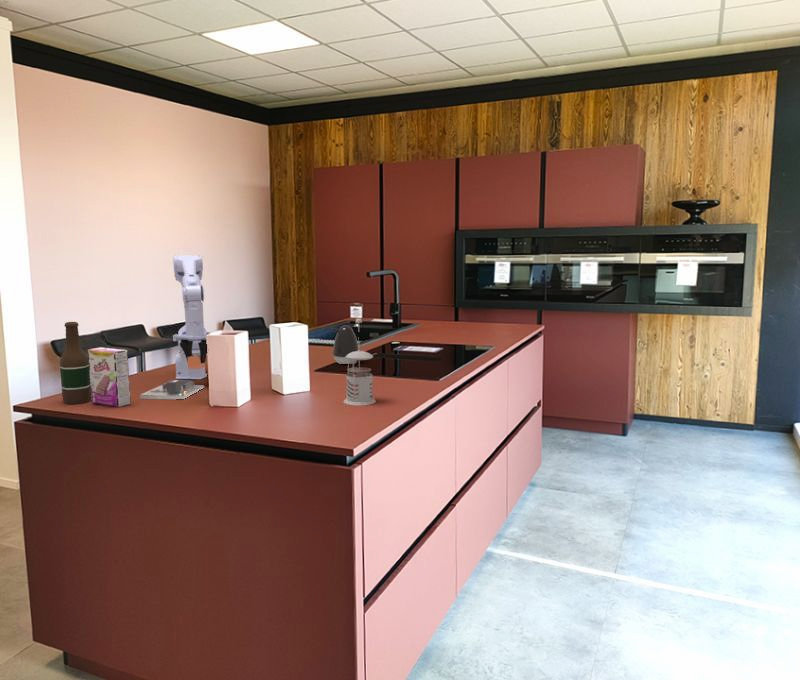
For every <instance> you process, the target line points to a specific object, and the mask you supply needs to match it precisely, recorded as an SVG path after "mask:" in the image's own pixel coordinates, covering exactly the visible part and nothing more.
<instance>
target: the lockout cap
mask: <svg viewBox="0 0 800 680" xmlns="http://www.w3.org/2000/svg"><path fill="white" fill-rule="evenodd" d="M205 363H206V362H205ZM205 363H201V360H200V355H199V354H194V355H191V356H189V357H188V369H201V368H203V367H205V368H206V364H205Z"/></svg>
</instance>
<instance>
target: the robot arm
mask: <svg viewBox="0 0 800 680" xmlns="http://www.w3.org/2000/svg"><path fill="white" fill-rule="evenodd" d="M172 258H173V272H174V278H175V281H177V282H178V283H180V285H181V287H182V289H181V290H182V291H181V292H182V302H183V307H184V308H183V309H184V321H185V324H184V325H183V326H182V327H181V328H180V329H179V330H178V332H177V333H178V334H177V333H175V334H172V341H173V342H177V344H178V351H179V352H178V353H177V354H176V355H175V375H176V377H175V379H174V380H203V379H204V378H207V377H208V376H207V374H208V373H206V366H205V367H203V368H201V369H188V357H189V356H191V355H194V354H199V355H200V360H201V363H206V360H207V354H208V352H207V344H206V336H207V335H208V334H207V333H208V331H207V329H206V327H205V325H204V323H205V321H204V301H205V289H204V286H203V284H201V280H202V279H203V278H202V277H203V270H204V265H203V256H202V255H201V254H195V255H194V254H192V255H191V254H190V255H189V254H188V255H181V254H179V255H177V254H174V255H173V257H172Z"/></svg>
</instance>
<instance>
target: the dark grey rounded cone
mask: <svg viewBox="0 0 800 680" xmlns="http://www.w3.org/2000/svg"><path fill="white" fill-rule="evenodd" d="M331 331H333V332H335V333H336V336H335V339H334V341H333V346H332V347H333V350H332V355H333V358H334V360H335V362H336V363H338V364H339V365H341V364H348V363H349V364H350V365H353V364H352V363H353V362H354V360H352V363H351V360H350V359H347V358H346V356H347V355H348V354H349V353H351V352H355V351H358V350H359V342H358V340H357V336H356V334H355V332H354V330H353V328H352V327H351V326H349V325H342V326H340V327H339V328H336V327H332V328H331ZM349 360H350V362H349ZM354 363H355V364H356V360H355V362H354Z"/></svg>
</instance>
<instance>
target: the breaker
mask: <svg viewBox="0 0 800 680" xmlns="http://www.w3.org/2000/svg"><path fill="white" fill-rule="evenodd" d="M181 380H182V379H171V380H169V381H166V382H165V383H166V384H167V393H177V392H179V391H181Z"/></svg>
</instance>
